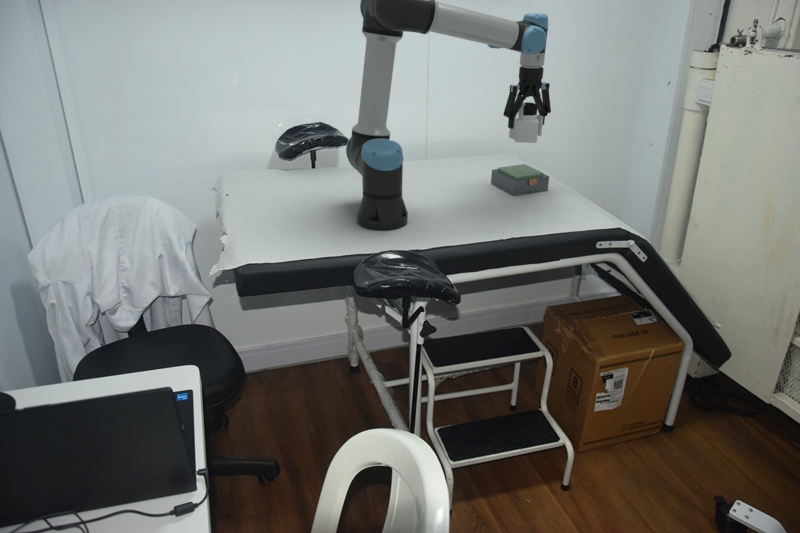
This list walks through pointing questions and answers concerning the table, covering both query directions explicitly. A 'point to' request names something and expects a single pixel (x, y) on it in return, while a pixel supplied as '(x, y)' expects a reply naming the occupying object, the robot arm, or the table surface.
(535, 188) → the stand
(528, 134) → the medicine bottle
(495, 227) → the table surface
